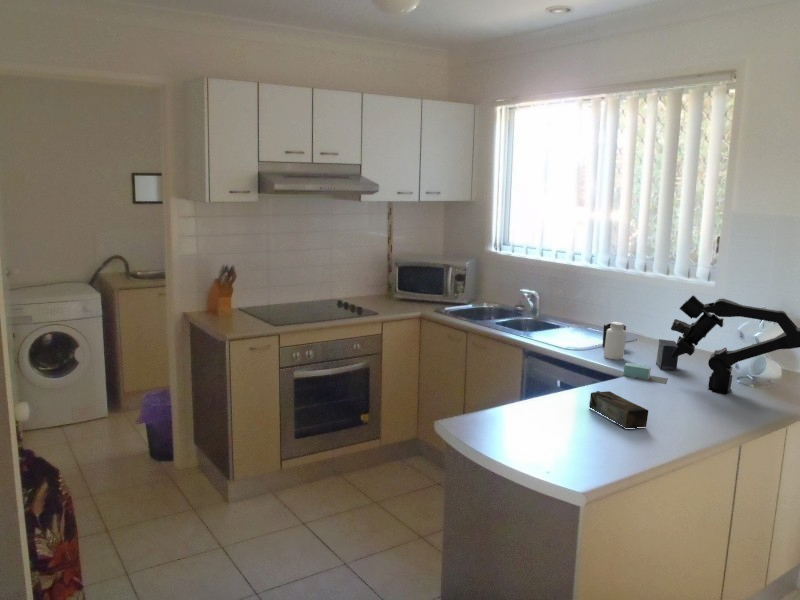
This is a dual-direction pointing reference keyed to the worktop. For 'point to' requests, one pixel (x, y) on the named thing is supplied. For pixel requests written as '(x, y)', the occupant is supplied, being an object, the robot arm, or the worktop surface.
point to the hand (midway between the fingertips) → (672, 356)
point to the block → (637, 371)
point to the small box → (666, 355)
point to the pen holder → (606, 331)
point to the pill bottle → (615, 341)
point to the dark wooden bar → (619, 409)
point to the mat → (655, 379)
